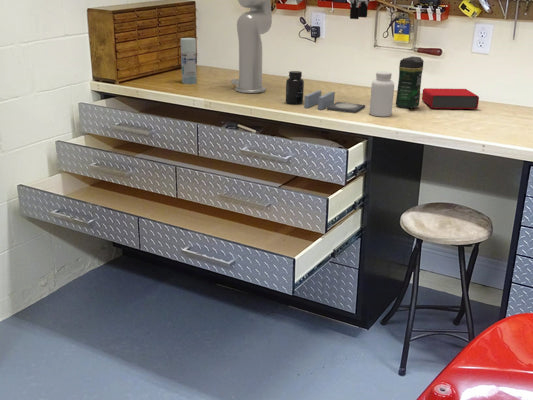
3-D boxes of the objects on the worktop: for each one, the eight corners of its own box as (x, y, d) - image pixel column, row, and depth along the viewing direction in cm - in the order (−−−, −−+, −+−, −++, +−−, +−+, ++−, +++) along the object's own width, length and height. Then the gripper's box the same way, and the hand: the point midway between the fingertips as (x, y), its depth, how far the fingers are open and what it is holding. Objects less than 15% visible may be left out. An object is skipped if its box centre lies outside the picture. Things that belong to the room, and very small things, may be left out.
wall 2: (317, 109, 235) (318, 97, 233) (330, 103, 246) (331, 91, 244) (321, 109, 234) (322, 97, 232) (334, 103, 245) (334, 92, 243)
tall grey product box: (180, 84, 278) (178, 38, 271) (194, 83, 281) (192, 37, 274) (184, 87, 273) (183, 39, 266) (199, 86, 276) (197, 39, 269)
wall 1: (304, 107, 237) (304, 95, 235) (317, 101, 248) (317, 90, 246) (307, 108, 236) (308, 96, 235) (320, 102, 247) (321, 90, 246)
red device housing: (465, 101, 255) (467, 88, 253) (477, 108, 241) (479, 95, 240) (421, 100, 254) (422, 88, 253) (430, 108, 241) (432, 95, 239)
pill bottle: (386, 118, 223) (390, 75, 218) (365, 115, 227) (368, 72, 222) (395, 113, 229) (398, 72, 224) (374, 111, 233) (377, 70, 228)
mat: (327, 109, 234) (327, 106, 234) (337, 104, 243) (337, 101, 243) (355, 113, 230) (355, 110, 229) (365, 107, 239) (365, 104, 238)
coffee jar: (412, 109, 236) (417, 59, 230) (392, 107, 241) (396, 57, 234) (422, 105, 244) (427, 56, 237) (402, 102, 248) (407, 54, 242)
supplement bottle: (301, 105, 242) (302, 73, 237) (284, 104, 243) (284, 72, 239) (304, 101, 248) (305, 70, 244) (287, 100, 249) (287, 69, 245)
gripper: (359, -32, 238) (356, 16, 244) (343, -32, 223) (340, 19, 229) (378, -31, 235) (375, 17, 241) (364, -31, 220) (360, 20, 226)
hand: (358, 18), depth 235 cm, fingers open, 9 cm apart
